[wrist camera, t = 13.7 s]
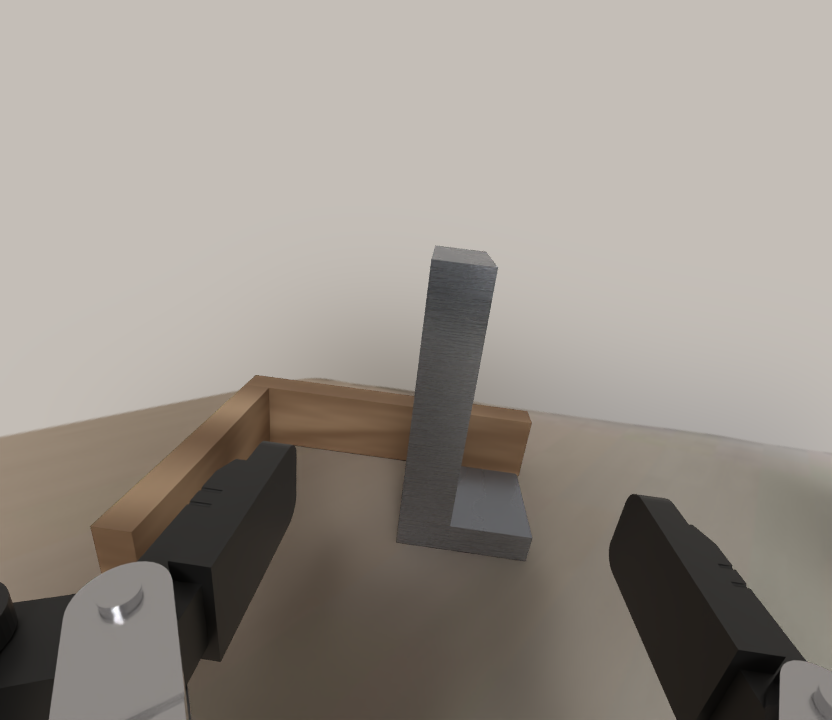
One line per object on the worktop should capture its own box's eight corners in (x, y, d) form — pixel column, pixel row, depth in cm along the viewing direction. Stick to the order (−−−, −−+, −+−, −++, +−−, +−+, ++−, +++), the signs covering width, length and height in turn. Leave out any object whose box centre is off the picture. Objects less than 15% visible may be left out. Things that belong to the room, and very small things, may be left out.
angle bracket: (525, 561, 20) (605, 281, 15) (396, 542, 20) (431, 259, 15) (511, 493, 25) (568, 262, 20) (405, 479, 25) (435, 245, 20)
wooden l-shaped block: (569, 673, 16) (598, 599, 14) (108, 605, 16) (90, 526, 14) (514, 462, 28) (527, 411, 27) (257, 427, 28) (255, 375, 27)
